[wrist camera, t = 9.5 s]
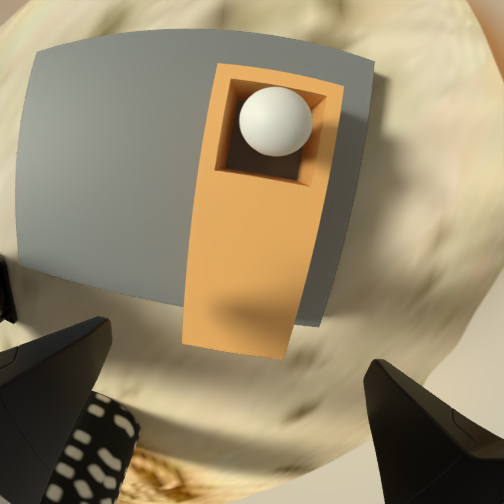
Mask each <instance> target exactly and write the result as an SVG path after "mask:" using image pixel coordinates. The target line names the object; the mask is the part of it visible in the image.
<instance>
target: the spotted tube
mask: <svg viewBox="0 0 504 504" xmlns="http://www.w3.org/2000/svg"><path fill="white" fill-rule="evenodd" d="M140 433H141V429H140V426H139V424H138V422H137V421H136V419H135V418H134V417H133V416H132V415H131V414H130V413H129V412H128V411H127V410H126V409H124V408H123V407H122V406H120V405H119V404H118V403H116V402H114V401H113V400H111V399H109V398H107V397H106V396H103V395H101V394H99V393H96V392H93V391H91V392H90V394H89V396H88V398H87V400H86V402H85V404H84V406H83V407H82V409H81V411H80V413H79V415H78V417H77V419H76V421H75V423H74V425H73V427H72V430H71V432H70V434H69V436H68V438H67V440H66V442H65V444H64V446H63V449H62V451H61V453H60V455H59V457H58V460H57V462H56V464H55V467H54V469H53V471H52V472H51V473H52V474H51V476H50V479H49V481H48V484H47V486H46V489H45V491H44V494H43V496H42V499H41V501H40V504H116V501H117V498H118V495H119V492H120V489H121V486H122V484H123V481H124V478H125V475H126V472H127V469H128V466H129V464H130V461H131V458H132V455H133V452H134V450H135V447H136V444H137V441H138V439H139V436H140ZM9 504H10V503H9Z"/></svg>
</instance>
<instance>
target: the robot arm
mask: <svg viewBox="0 0 504 504" xmlns="http://www.w3.org/2000/svg"><path fill="white" fill-rule="evenodd" d="M4 319H5V320H7V321H9V322H11V323H13V324H14V323H16V322H17V317H16V313H15V309H14V305H13V300H12V296H11V291H10V286H9V280H8V274H7V268H6V264H5V262H4V260H2V259H0V323H1V322H2V321H3V320H4ZM111 345H112V331H111V323H110V320H109V319H108V318H104V317H101V316H98V317H95V318H92V319H89V320H87V321H84V322H81V323H79V324H76V325H73V326H71V327H68V328H65V329H63V330H60V331H57V332H54V333H52V334H49V335H46V336H44V337H41V338H38V339H35V340H33V341H30V342H27V343H25V344H22V345H19V347H18V346H16V347H14V348H11V349H8V350H5V351H2V352H0V504H8V503H10V504H40V501H41V499H42V496H43V494H44V491H45V489H46V486H47V484H48V481H49V479H50V476H51V474H52V473H51V472H52V471H53V469H54V467H55V464H56V462H57V460H58V457H59V455H60V453H61V451H62V449H63V446H64V444H65V442H66V440H67V438H68V436H69V434H70V432H71V430H72V427H73V425H74V423H75V421H76V419H77V417H78V415H79V413H80V411H81V409H82V407H83V406H84V404H85V402H86V400H87V398H88V396H89V394H90V392H91V390H92V388H93V386H94V385H95V383H96V381H97V379H98V376H99V374H100V372H101V369H102V367H103V364H104V362H105V359H106V357H107V354H108V352H109V350H110V347H111ZM363 383H364V391H365V398H366V406H367V414H368V420H369V424H370V429H371V433H372V438H373V442H374V447H375V451H376V457H377V461H378V467H379V471H380V477H381V483H382V489H383V494H384V501H385V504H504V439H502V438H500V437H498V436H497V435H495V434H493V433H491V432H490V431H488V430H486V429H484V428H483V427H481V426H479V425H478V424H476V423H474V422H473V421H471V420H469V419H468V418H466V417H465V416H463V415H462V414H460V413H459V412H457V411H456V410H455V409H453V408H451V407H450V406H449V405H447V404H446V403H445V402H443V401H442V400H440V399H439V398H438V397H436V396H435V395H433V394H432V393H430V392H429V391H428V390H426V389H425V388H424V387H422V386H421V385H419V384H418V383H416V382H415V381H414V380H412V379H411V378H409V377H408V376H407V375H405V374H404V373H403V372H401V371H400V370H398V369H397V368H396V367H394V366H393V365H391V364H390V363H389V362H387V361H386V360H384V359H374V360H373V361H372V362H371V364H370V366H369V368H368V370H367V372H366V374H365V376H364V380H363Z"/></svg>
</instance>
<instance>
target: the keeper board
mask: <svg viewBox="0 0 504 504" xmlns="http://www.w3.org/2000/svg"><path fill="white" fill-rule="evenodd" d="M218 63H222V64H232V65H241V66H249V67H257V68H263V69H270V70H276V71H281V72H287V73H292V74H297V75H301V76H306V77H310V78H315V79H319V80H323V81H327V82H330V83H334V84H338V85H341V86H344V91H343V98H342V105H341V112H340V118H339V124H338V130H337V136H336V142H335V148H334V154H333V159H332V164H331V170H330V175H329V180H328V185H327V190H326V195H325V200H324V205H323V209H322V214H321V219H320V223H319V228H318V232H317V236H316V241H315V245H314V249H313V253H312V258H311V262H310V266H309V270H308V274H307V278H306V282H305V285H304V289H303V293H302V297H301V301H300V304H299V308H298V312H297V315H296V319H295V322H294V325H303V326H311V327H319V326H320V323H321V320H322V317H323V314H324V310H325V307H326V304H327V301H328V297H329V294H330V291H331V287H332V284H333V280H334V277H335V273H336V270H337V266H338V262H339V259H340V255H341V251H342V247H343V243H344V239H345V235H346V231H347V227H348V223H349V218H350V214H351V210H352V205H353V201H354V196H355V191H356V186H357V181H358V176H359V171H360V166H361V160H362V155H363V149H364V143H365V137H366V130H367V124H368V117H369V109H370V101H371V93H372V84H373V74H374V64H375V61H372V60H369V59H366V58H363V57H360V56H357V55H354V54H351V53H348V52H344V51H341V50H337V49H334V48H330V47H326V46H322V45H318V44H314V43H310V42H305V41H301V40H296V39H290V38H285V37H279V36H273V35H267V34H259V33H251V32H242V31H231V30H215V29H162V30H147V31H136V32H127V33H119V34H112V35H106V36H100V37H94V38H89V39H84V40H79V41H75V42H71V43H67V44H63V45H59V46H55V47H52V48H48V49H45V50H42V51H38V52H37V53H36V56H35V60H34V63H33V67H32V70H31V74H30V78H29V82H28V87H27V91H26V96H25V101H24V106H23V111H22V117H21V124H20V131H19V139H18V149H17V161H16V182H15V210H16V231H17V243H18V253H19V262H20V266H22V267H25V268H29V269H32V270H35V271H38V272H42V273H45V274H48V275H52V276H55V277H59V278H62V279H66V280H69V281H73V282H77V283H80V284H84V285H88V286H92V287H96V288H100V289H104V290H108V291H112V292H116V293H120V294H124V295H129V296H133V297H138V298H142V299H147V300H151V301H156V302H161V303H166V304H171V305H176V306H181V307H184V296H185V283H186V271H187V260H188V249H189V239H190V230H191V221H192V213H193V205H194V197H195V189H196V182H197V175H198V168H199V161H200V155H201V148H202V142H203V136H204V130H205V125H206V119H207V113H208V108H209V103H210V98H211V93H212V88H213V83H214V78H215V73H216V68H217V64H218ZM312 124H313V123H312V114H311V111H310V108H309V106H308V105H307V103H306V102H305V100H304V99H303V98H302V97H301V96H300V95H298V94H297V93H295V92H294V91H292V90H289V89H287V88H283V87H268V88H264V89H261V90H259V91H257V92H255V93H254V94H253V95H251V96H250V97H249V98H248V99H247V101H239V100H238V103H237V108H236V114H235V119H234V125H233V131H232V136H231V142H230V148H229V154H228V160H227V166H226V168H229V169H235V170H242V171H248V172H254V173H260V174H266V175H272V176H277V177H282V178H288V179H293V180H297V176H298V170H299V165H300V160H301V154H302V148H303V145H304V144H305V143H306V141H307V140H308V138H309V136H310V134H311V130H312Z"/></svg>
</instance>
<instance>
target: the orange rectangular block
mask: <svg viewBox="0 0 504 504" xmlns="http://www.w3.org/2000/svg"><path fill="white" fill-rule="evenodd" d="M268 87H283V88H287V89H289V90H292V91H294V92H295V93H297V94H298V95H300V96H301V97H302V98H303V99H304V100H305V102H306V103H307V105H308V106H309V108H310V111H311V114H312V123H313V124H312V130H311V134H310V136H309V138H308V140H307V141H306V143H305V144H304V145H303V148H302V154H301V160H300V165H299V170H298V176H297V180H293V179H288V178H282V177H277V176H272V175H266V174H260V173H254V172H248V171H242V170H235V169H229V168H226V166H227V160H228V154H229V148H230V142H231V136H232V131H233V125H234V119H235V114H236V108H237V103H238V100H239V101H247V99H248V98H249V97H250V96H251V95H253V94H254V93H255V92H257V91H259V90H261V89H264V88H268ZM343 91H344V86H341V85H338V84H334V83H330V82H327V81H323V80H319V79H315V78H310V77H306V76H301V75H297V74H292V73H287V72H281V71H276V70H270V69H263V68H257V67H249V66H241V65H232V64H222V63H218V64H217V68H216V73H215V78H214V83H213V88H212V93H211V98H210V103H209V108H208V113H207V119H206V125H205V130H204V136H203V142H202V148H201V155H200V161H199V168H198V175H197V182H196V189H195V197H194V205H193V213H192V221H191V230H190V239H189V249H188V260H187V271H186V283H185V296H184V311H183V329H182V344H187V345H192V346H197V347H202V348H208V349H213V350H219V351H225V352H232V353H238V354H245V355H252V356H259V357H267V358H275V359H284V357H285V353H286V350H287V347H288V343H289V340H290V336H291V333H292V330H293V326H294V322H295V319H296V315H297V312H298V308H299V304H300V301H301V297H302V293H303V289H304V285H305V282H306V278H307V274H308V270H309V266H310V262H311V258H312V253H313V249H314V245H315V241H316V236H317V232H318V228H319V223H320V219H321V214H322V209H323V205H324V200H325V195H326V190H327V185H328V180H329V175H330V170H331V164H332V159H333V154H334V148H335V142H336V136H337V130H338V124H339V118H340V112H341V105H342V98H343Z"/></svg>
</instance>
